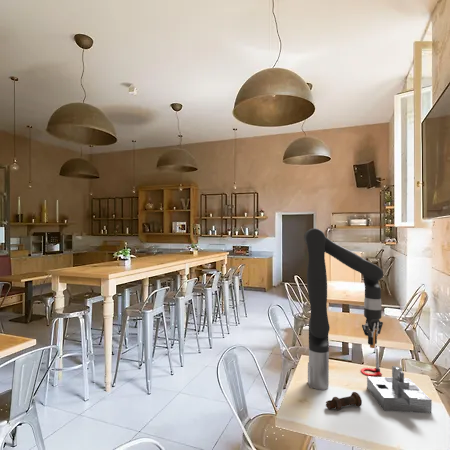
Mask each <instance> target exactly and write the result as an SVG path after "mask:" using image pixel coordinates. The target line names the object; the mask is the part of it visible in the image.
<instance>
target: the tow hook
mask: <svg viewBox="0 0 450 450" xmlns="http://www.w3.org/2000/svg"><path fill="white" fill-rule="evenodd" d="M375 348H376V347H375ZM379 360H380V359H379V349H378V348H376V349H375V367H373V368H370V367H363V368H361V369H360V373H361V374H362V375H364V376H366V377H367V376H371V377H378V376H379V377H383V374H382V372H381V369H380V363H379ZM366 371H370V372H373V373H368V372H366Z"/></svg>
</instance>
